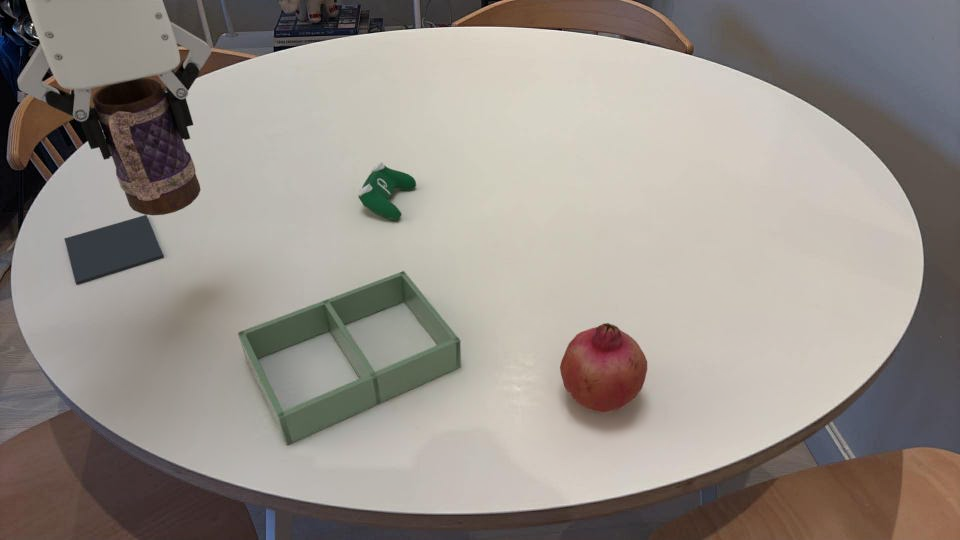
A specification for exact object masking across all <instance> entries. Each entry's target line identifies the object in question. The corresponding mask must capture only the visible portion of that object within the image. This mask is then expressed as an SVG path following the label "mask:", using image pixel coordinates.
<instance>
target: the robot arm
mask: <svg viewBox="0 0 960 540" xmlns="http://www.w3.org/2000/svg"><path fill="white" fill-rule="evenodd" d="M25 3H26V6H27V9H28V12H29V15H30V18H31V21H32V24H33V27H34V30H35V33H36V36H37V38H38V40H39V44H38V46H37V48H36V49H35V50H34V52H33V54H32V55H31V57H30V59H29V60H28V62H27V63H26V65H25V66H24V68H23V69H22V71H21V72H20V74H19V75H18V77H17V80H16V81H17V87H18V89H19V91H21V92H22V93H24V94H26V95H28V96H30V97H33V98H34V99H37V100H39V101H42V102H44V103H46V104H47V105H49V106H50V107H52V108H54V109H55V110H58V111H60V112H62V113H65V114H67V115H69V116H72V117H73V119H75V120H76V121H77V122H79V124H80V125H81V128H82V131H83V134H84V136H85V138H86V141H87V143H88V145H89V148H90V150H94V149H98V148H99V151H100V154H101V156H102V158H103V160H104V161H105V160H108V159H111V158H112V155H111V152H110V150H109V147H108V144H107V141H106V138H105V136H104V133H103V130H102V127H101V124H100V122H99V120H98V118H97V115H96V113H95V110H94V107H91V100H92V90H93V89H95V88H102V87H104V86H106V85H111V84H116V83H121V82H126V81H131V80H136V79H140V78H149V77H154V76H157V77H158V79H159V80H160V81H161V82H162V83H163V84H164V85H165V87H166V91H165V94H166V96H167V99H168V102H169V106H170V109H171V112H172V115H173V118H174V121H175V124H176V126H177V129H178V132H179V134H180V136H181V138H182V140H184V141H187V140H190V139H191V136H190V132H189V129H188V127H192V126H194V121H193V118H192V114H191V112H190V111H191V110H190V107H189V105H188V101H187V98H188V96H189V90H190V89H191V87H192V86H193V84H194V82H195V81H196V80H197V78H198V77H199V75H200V71H201V69H202V68H203V67H204V65H205V64H206V62H207V61H208V59H209V57H210V56H211V54H212V48H211V47H210V46H209V44H208V42H206V41H205V40H203V39H201V38H200V37H198V36H196V35H194V34H192V32H189V31H188V30H187V29H184V28H182V27H181V26H180V25H177V24H176V23H174V22H172V21H171V20H170V17H169V15H168V12H167V8H166V6H165V4H164V0H25ZM178 45H179V46H181V47H182V48H184V49H186V50H187V51H189V52H188V54H187V55H186V57H185V59H184V60H182V61H181V54H180V50H179V46H178ZM177 67H178V68H177ZM176 68H177V70H176V71H175V69H176ZM49 69H50V72H51V73H52V75H53V77H54V79H55V81H56V82H57V84H58V85H59V86H60V87H61V88H63V90H62V89H60V88H59V87H56V86H53V85H49V84H48V83H47V82H45V81H43V79H44V77H45V76H46V74H47V72H48V71H49ZM64 89H65V90H68V91H69V92H66V91H65V90H64Z"/></svg>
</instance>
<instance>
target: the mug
mask: <svg viewBox="0 0 960 540" xmlns="http://www.w3.org/2000/svg"><path fill="white" fill-rule="evenodd" d="M165 92H166V91H165V90H164V89H163V88H162V84H161V83H160V82H159V81H157V80H155V79H152V78H148V77H145V78H140V79H136V80H131V81H126V82H121V83H116V84H111V85H106V86H101V87H100V88H99V89H97V91H95V93H94V94H93V95H92V103H93V108H94V110H95V113H96V115H97V118H98V121H99V123H100V126H101V128H102V131H103V133H104V136H105V139H106V141H107V144H108V147H109V150H110V153H111V155H112V156H111V159H112V161H113V163H114V166H115V174H116V178H117V181H118V183H119V186H120V188H121V189H122V191H123V193H124V194H125V197H126V199H127V203H128V205H129V207H130V208H131V209H132V211H134V212H137V213H139V214H142V215H147V216H164V215H169V214H172V213H177V212H178V211H181V210H183V209H185V208H187V207H188V206H190V205H192V203H193V202H194V201H195V200H196V199H197V198H198V196H199V195H200V193H201V185H200V181H199V179H198V176H197V174H196V166H195V164H194V162H193V158H192V155H191V153H190V152H189V151H188V150H187V149H186V146H185V142H184V141H183V140H184V139H182V138H181V136H180V134H179V132H178V129H177V126H176V124H175V121H174V118H173V115H172V112H171V109H170V106H169V102H168V99H167V96H166V94H165Z"/></svg>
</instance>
